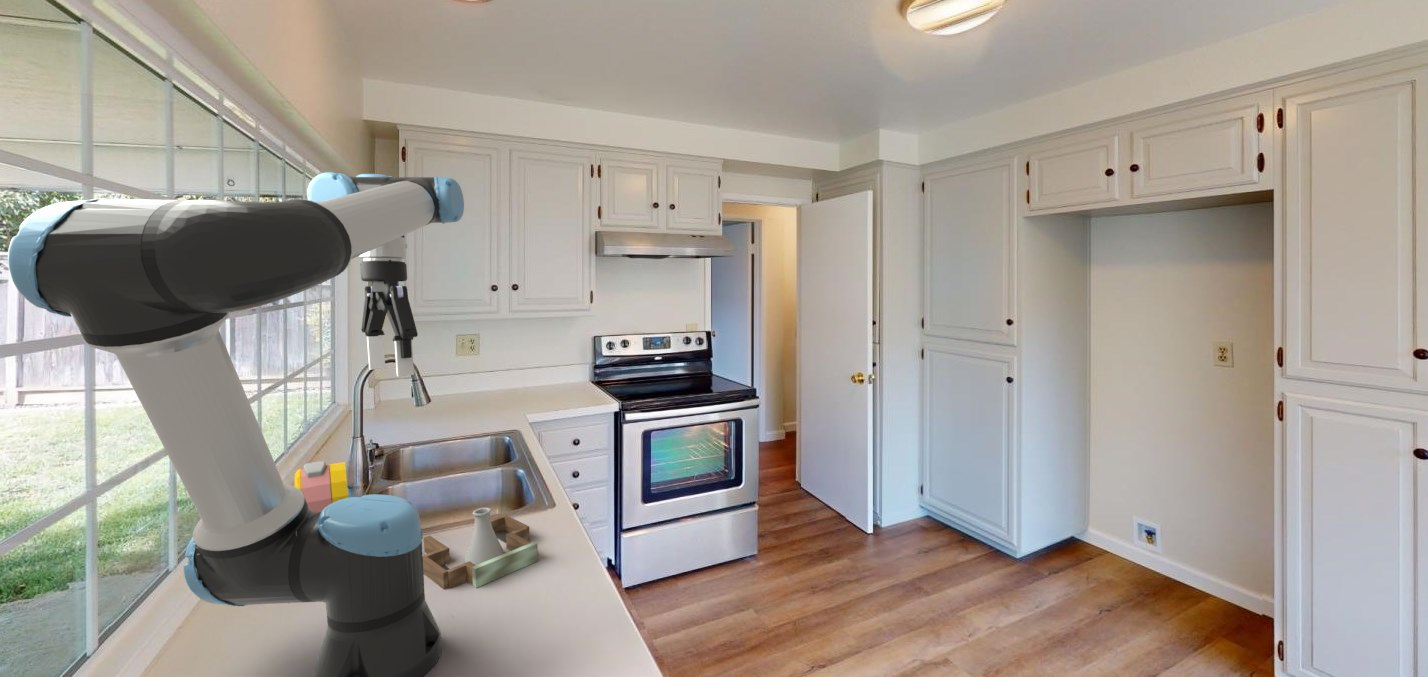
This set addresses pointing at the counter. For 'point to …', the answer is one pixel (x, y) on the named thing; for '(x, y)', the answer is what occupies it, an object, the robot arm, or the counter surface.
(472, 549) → the flask
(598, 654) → the counter surface
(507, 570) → the box
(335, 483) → the alarm clock
